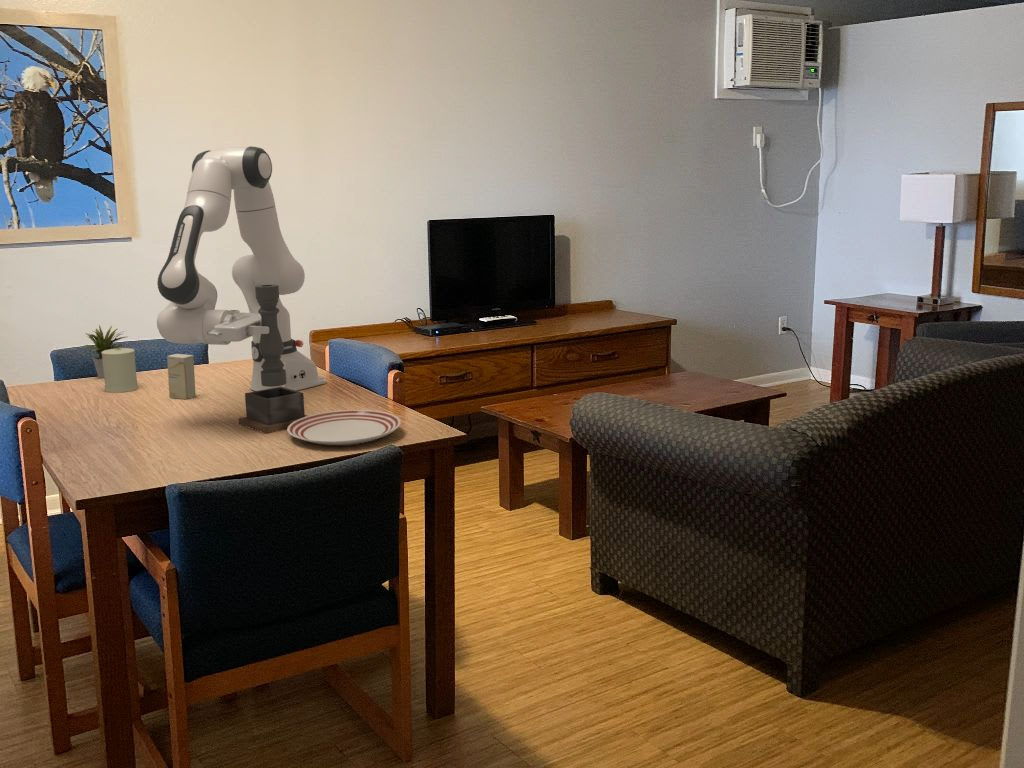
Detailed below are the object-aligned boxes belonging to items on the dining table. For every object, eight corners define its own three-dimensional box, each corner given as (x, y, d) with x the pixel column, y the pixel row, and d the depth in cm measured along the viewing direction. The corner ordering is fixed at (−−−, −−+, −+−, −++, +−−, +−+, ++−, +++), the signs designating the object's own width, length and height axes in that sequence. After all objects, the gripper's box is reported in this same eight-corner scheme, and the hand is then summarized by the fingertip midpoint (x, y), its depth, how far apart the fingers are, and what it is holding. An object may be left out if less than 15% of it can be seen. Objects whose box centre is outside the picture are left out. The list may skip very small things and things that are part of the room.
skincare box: (169, 398, 287) (165, 356, 284) (179, 394, 291) (176, 353, 288) (186, 399, 284) (183, 357, 282) (197, 396, 288) (193, 354, 286)
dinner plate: (354, 458, 228) (354, 444, 228) (263, 442, 241) (262, 429, 241) (423, 429, 252) (422, 417, 251) (336, 417, 265) (336, 404, 264)
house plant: (120, 382, 308) (115, 329, 304) (75, 382, 308) (69, 329, 304) (137, 372, 322) (133, 321, 318) (94, 372, 322) (89, 322, 318)
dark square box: (286, 414, 267) (284, 384, 265) (313, 422, 258) (311, 392, 256) (238, 423, 258) (236, 393, 256) (265, 433, 249) (263, 401, 247)
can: (138, 384, 304) (134, 345, 301) (138, 391, 296) (134, 350, 293) (105, 387, 301) (101, 347, 298) (104, 393, 292) (100, 353, 290)
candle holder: (291, 382, 257) (284, 284, 251) (274, 387, 252) (267, 287, 246) (273, 380, 260) (266, 283, 254) (256, 385, 255) (248, 286, 249)
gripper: (202, 321, 244) (256, 322, 242) (236, 309, 263) (286, 309, 261) (203, 347, 245) (258, 348, 243) (237, 332, 265) (288, 333, 263)
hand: (273, 328), depth 252 cm, fingers closed on candle holder, 4 cm apart
